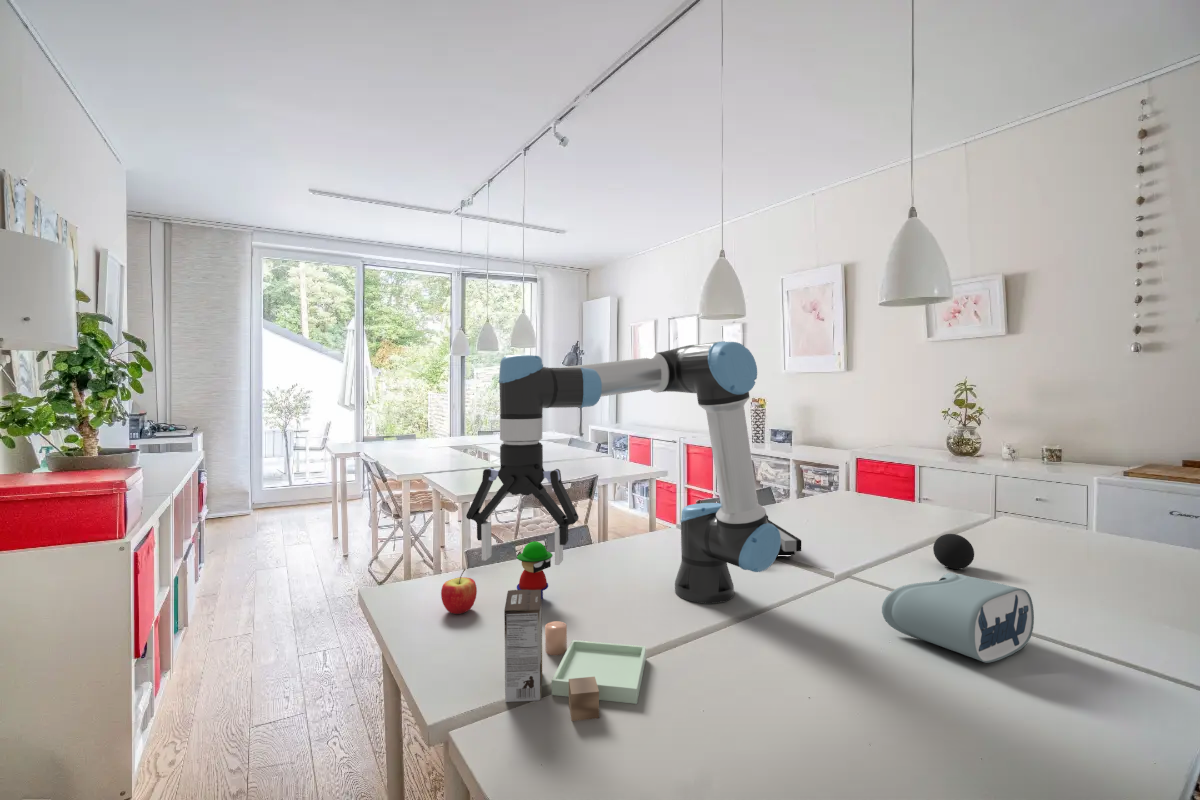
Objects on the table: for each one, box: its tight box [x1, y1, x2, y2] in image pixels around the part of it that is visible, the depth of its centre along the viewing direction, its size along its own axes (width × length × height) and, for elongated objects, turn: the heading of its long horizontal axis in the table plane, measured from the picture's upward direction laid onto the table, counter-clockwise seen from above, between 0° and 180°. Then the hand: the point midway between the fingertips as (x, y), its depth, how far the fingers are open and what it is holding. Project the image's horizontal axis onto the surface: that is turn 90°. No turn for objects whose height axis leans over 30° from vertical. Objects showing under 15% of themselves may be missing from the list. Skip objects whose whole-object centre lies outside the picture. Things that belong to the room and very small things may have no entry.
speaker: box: [932, 533, 975, 570], centre depth 155 cm, size 10×10×10 cm
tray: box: [551, 639, 647, 705], centre depth 99 cm, size 15×15×3 cm
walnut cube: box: [568, 677, 600, 722], centre depth 88 cm, size 4×4×4 cm
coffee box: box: [503, 589, 543, 703], centre depth 95 cm, size 9×6×16 cm
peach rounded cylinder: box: [544, 620, 568, 656], centre depth 108 cm, size 4×4×5 cm
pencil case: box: [881, 572, 1035, 664], centre depth 112 cm, size 22×19×13 cm
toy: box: [516, 540, 553, 600], centre depth 133 cm, size 9×9×15 cm
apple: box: [440, 568, 478, 615], centre depth 127 cm, size 8×8×10 cm
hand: (522, 560), depth 95 cm, fingers open, 13 cm apart
